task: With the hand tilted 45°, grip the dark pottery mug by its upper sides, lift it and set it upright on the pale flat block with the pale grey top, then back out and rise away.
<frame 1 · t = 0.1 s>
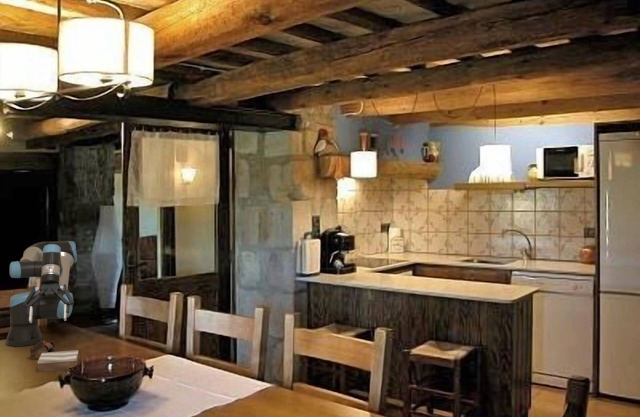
hand: (47, 320, 260), 15 cm above the table, tool tilted 35°, fingers open, 13 cm apart
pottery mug: (45, 357, 259), on the table
pale flat block: (58, 365, 246), on the table
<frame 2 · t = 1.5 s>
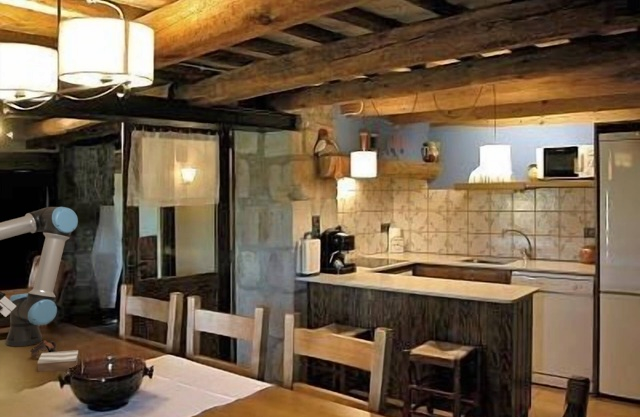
hand: (11, 311, 255), 20 cm above the table, tool tilted 45°, fingers open, 13 cm apart
nothing on the table moved.
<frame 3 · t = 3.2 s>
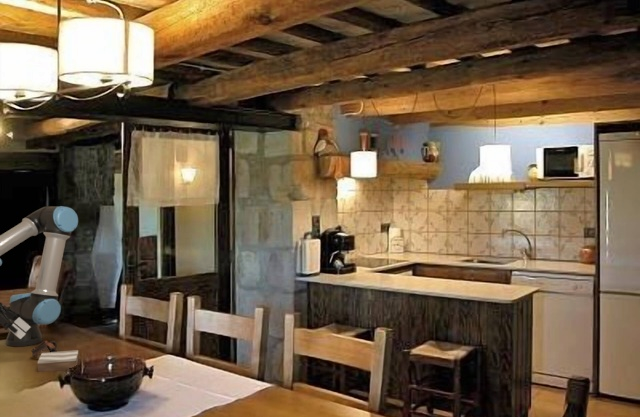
hand: (25, 333, 256), 11 cm above the table, tool tilted 45°, fingers open, 13 cm apart
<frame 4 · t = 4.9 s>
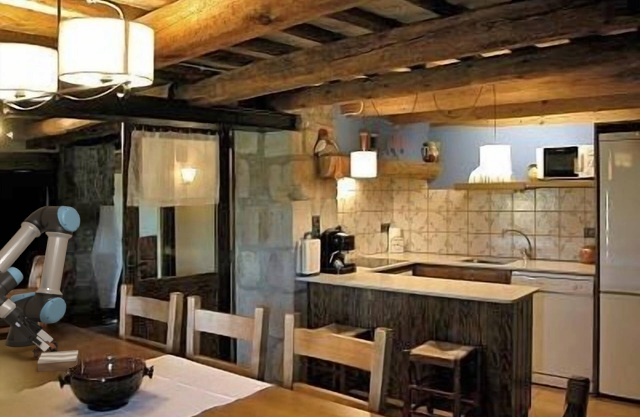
hand: (49, 345, 259), 5 cm above the table, tool tilted 45°, fingers open, 13 cm apart
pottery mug: (48, 358, 258), on the table, touching gripper
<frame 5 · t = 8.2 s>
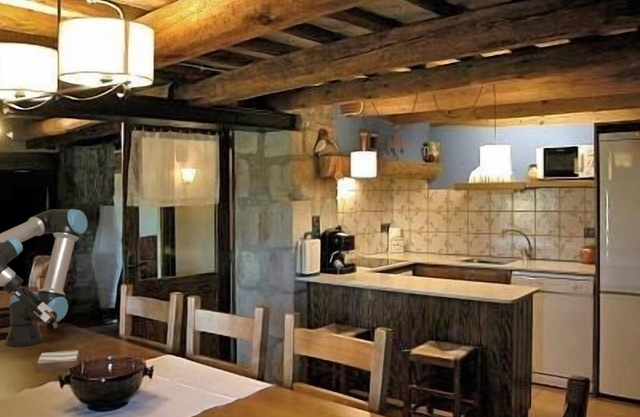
hand: (49, 317, 256), 18 cm above the table, tool tilted 45°, fingers closed on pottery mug, 11 cm apart
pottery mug: (46, 327, 255), point 13 cm above the table, touching gripper
when the fingers open (10 cm above the table, at t = 11.0 s): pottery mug drops 1 cm, resting on pale flat block.
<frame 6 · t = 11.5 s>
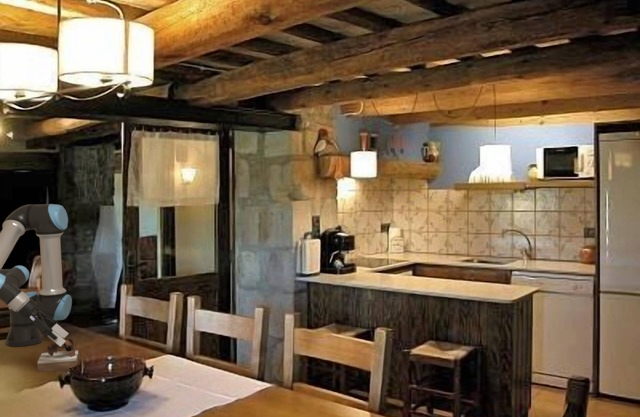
hand: (64, 340, 247), 10 cm above the table, tool tilted 45°, fingers open, 13 cm apart
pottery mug: (63, 355, 247), point 4 cm above the table, touching pale flat block
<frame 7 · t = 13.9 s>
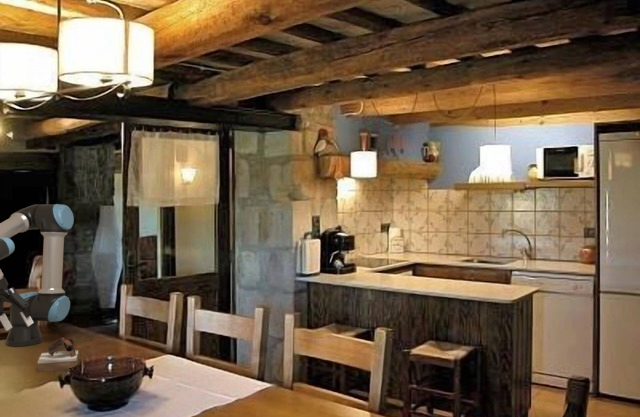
hand: (19, 327, 246), 16 cm above the table, tool tilted 25°, fingers open, 13 cm apart
nothing on the table moved.
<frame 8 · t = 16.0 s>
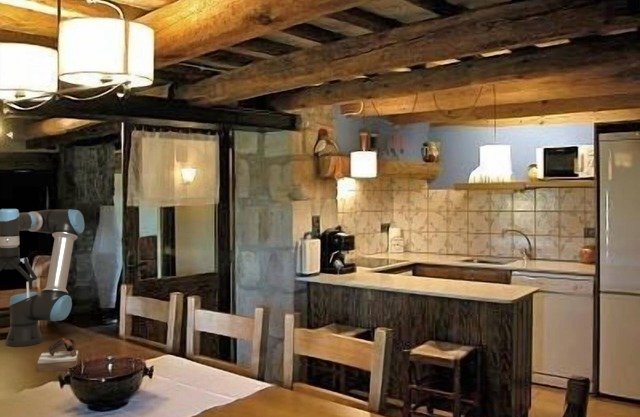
hand: (10, 298, 249), 27 cm above the table, tool pointing down, fingers open, 13 cm apart
nothing on the table moved.
at the end: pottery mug inside the target area on the pale flat block (2.2 cm from its centre), point 3.8 cm above the pale flat block's base; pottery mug tilted 1°; the gripper is holding nothing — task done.
